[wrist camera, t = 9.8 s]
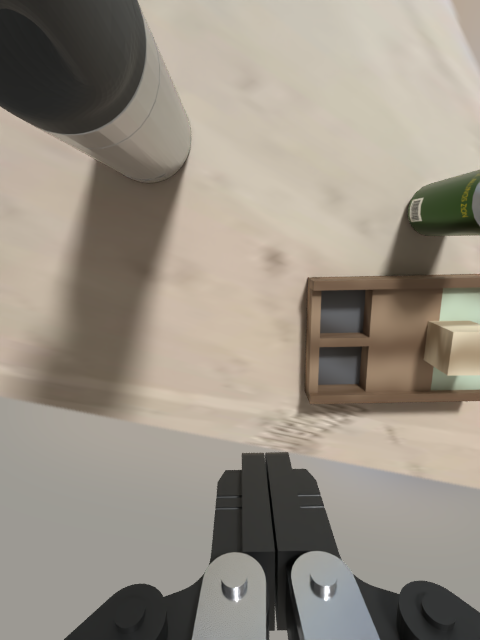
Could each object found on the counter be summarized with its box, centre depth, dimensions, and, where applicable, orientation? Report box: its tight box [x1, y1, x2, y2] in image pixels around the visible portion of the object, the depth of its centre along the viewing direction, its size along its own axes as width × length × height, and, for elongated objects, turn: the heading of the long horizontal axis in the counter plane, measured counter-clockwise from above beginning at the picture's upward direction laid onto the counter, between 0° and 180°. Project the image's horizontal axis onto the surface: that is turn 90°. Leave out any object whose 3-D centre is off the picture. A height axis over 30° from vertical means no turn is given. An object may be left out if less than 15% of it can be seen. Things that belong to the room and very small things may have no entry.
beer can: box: [408, 170, 480, 236], centre depth 31 cm, size 5×5×12 cm
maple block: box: [424, 321, 480, 376], centre depth 35 cm, size 4×4×4 cm
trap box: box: [305, 274, 480, 404], centre depth 38 cm, size 14×20×3 cm
